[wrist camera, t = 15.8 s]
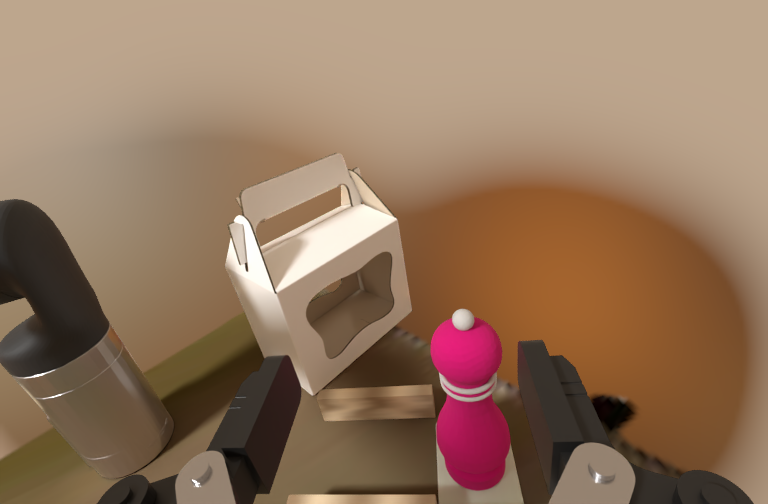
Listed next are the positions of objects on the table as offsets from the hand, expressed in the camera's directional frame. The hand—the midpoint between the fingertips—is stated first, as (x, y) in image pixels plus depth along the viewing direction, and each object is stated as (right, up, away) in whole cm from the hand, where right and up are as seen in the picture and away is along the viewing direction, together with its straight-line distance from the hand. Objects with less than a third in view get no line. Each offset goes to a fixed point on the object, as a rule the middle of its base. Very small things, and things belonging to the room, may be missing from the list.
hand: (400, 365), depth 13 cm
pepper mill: (+9, -18, +27) cm, 34 cm away
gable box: (-8, -10, +49) cm, 51 cm away
